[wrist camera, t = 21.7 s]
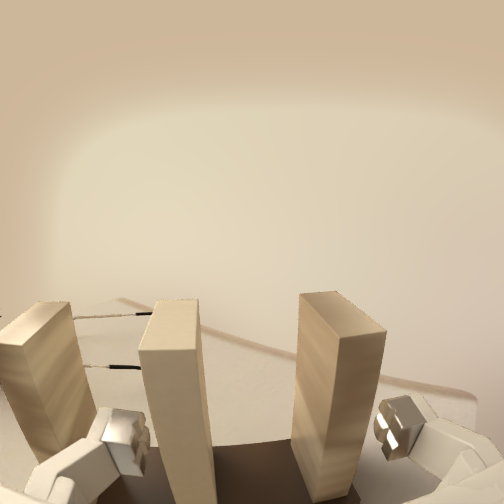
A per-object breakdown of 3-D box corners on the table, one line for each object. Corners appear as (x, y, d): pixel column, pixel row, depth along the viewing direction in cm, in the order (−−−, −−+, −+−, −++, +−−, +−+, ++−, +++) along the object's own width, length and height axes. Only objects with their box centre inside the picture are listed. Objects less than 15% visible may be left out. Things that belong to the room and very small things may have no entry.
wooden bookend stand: (324, 440, 23) (342, 286, 21) (358, 506, 16) (408, 334, 13) (81, 448, 21) (35, 297, 18) (58, 515, 13) (-30, 346, 10)
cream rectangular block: (213, 451, 21) (198, 298, 19) (218, 514, 15) (196, 348, 13) (181, 452, 21) (157, 299, 19) (180, 515, 15) (137, 349, 12)
